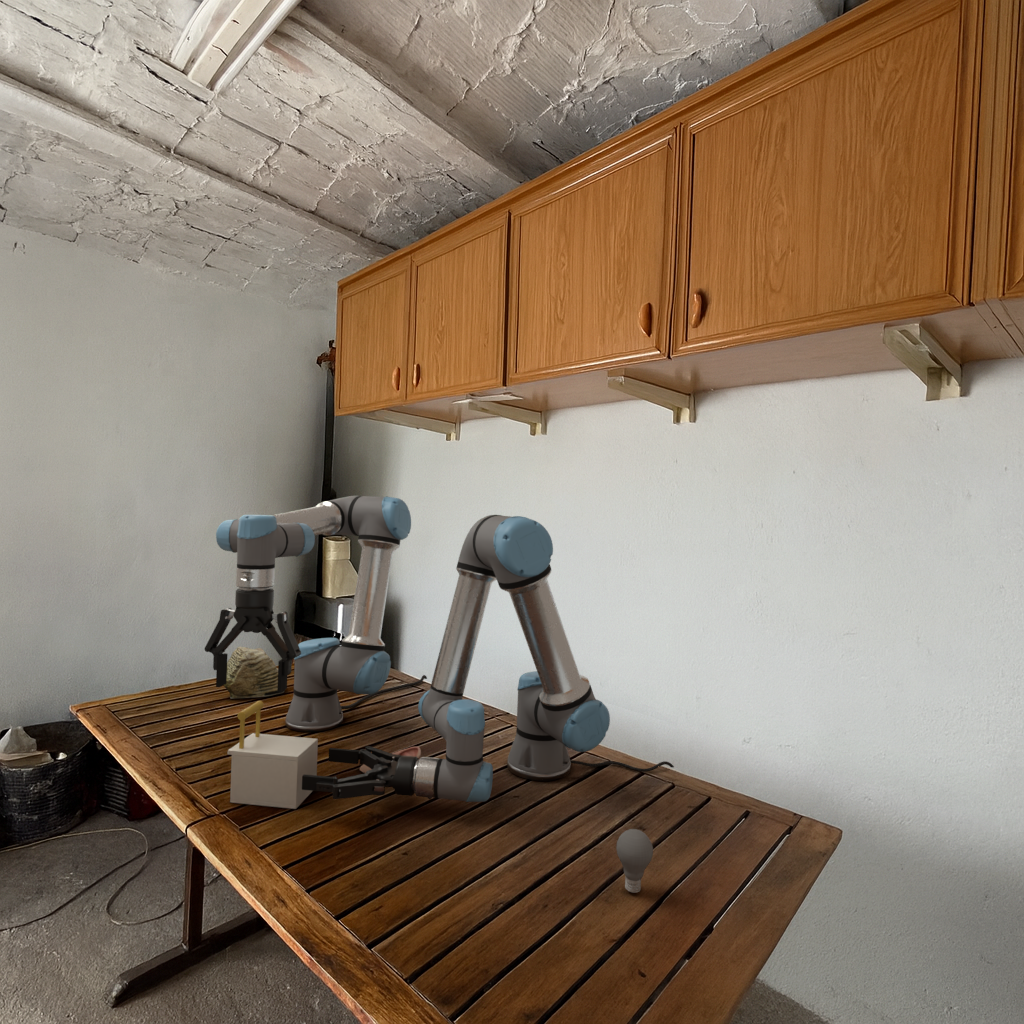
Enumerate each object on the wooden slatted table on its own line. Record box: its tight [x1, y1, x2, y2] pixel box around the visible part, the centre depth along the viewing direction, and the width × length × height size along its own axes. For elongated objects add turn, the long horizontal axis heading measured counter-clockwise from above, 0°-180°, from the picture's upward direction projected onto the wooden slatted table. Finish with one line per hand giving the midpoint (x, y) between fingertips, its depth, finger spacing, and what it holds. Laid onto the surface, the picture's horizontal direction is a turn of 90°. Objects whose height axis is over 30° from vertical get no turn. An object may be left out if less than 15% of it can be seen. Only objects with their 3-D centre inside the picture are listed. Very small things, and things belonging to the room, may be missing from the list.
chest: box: [229, 742, 319, 810], centre depth 134 cm, size 14×10×10 cm
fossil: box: [223, 646, 287, 699], centre depth 198 cm, size 9×18×15 cm, turn 132°
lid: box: [227, 700, 319, 761], centre depth 134 cm, size 15×10×9 cm, turn 84°
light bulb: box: [615, 828, 654, 894], centre depth 106 cm, size 6×6×10 cm
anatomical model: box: [359, 746, 422, 774], centre depth 149 cm, size 13×4×12 cm
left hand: (251, 687), depth 134 cm, fingers open, 13 cm apart
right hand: (316, 767), depth 132 cm, fingers open, 13 cm apart
